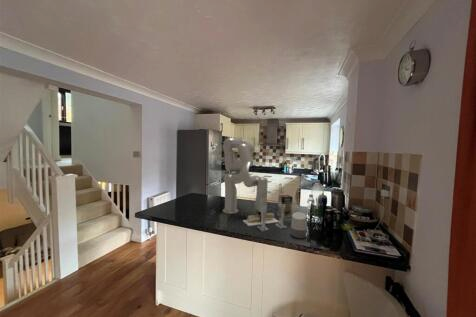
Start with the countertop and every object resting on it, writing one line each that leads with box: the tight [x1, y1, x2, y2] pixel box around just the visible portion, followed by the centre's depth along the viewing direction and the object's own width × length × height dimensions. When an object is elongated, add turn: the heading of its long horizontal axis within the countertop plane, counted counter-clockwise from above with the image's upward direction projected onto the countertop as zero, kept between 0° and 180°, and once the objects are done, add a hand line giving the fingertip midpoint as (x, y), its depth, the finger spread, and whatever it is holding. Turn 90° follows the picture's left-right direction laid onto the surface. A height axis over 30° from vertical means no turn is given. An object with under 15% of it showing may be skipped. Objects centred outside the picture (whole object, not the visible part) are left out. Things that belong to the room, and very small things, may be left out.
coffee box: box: [277, 194, 294, 219], centre depth 160 cm, size 9×6×16 cm
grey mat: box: [242, 217, 279, 227], centre depth 148 cm, size 10×24×1 cm, turn 112°
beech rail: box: [246, 212, 275, 221], centre depth 148 cm, size 3×20×3 cm, turn 112°
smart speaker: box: [290, 211, 308, 240], centre depth 125 cm, size 10×9×14 cm
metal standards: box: [256, 202, 288, 232], centre depth 138 cm, size 6×19×16 cm, turn 112°
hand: (260, 219), depth 148 cm, fingers open, 3 cm apart
